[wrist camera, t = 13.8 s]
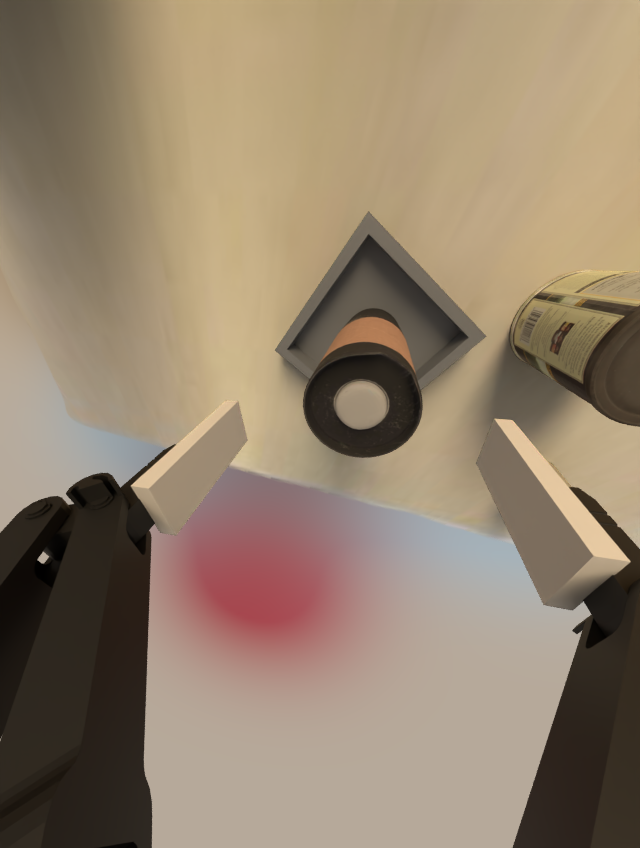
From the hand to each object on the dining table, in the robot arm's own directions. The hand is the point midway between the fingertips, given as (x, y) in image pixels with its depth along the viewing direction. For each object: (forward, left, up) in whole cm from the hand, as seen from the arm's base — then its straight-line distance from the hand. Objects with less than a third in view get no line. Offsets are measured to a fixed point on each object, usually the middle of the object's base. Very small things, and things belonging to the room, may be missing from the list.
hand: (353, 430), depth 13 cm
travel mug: (0, 0, -23) cm, 23 cm away
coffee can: (+15, +15, -24) cm, 32 cm away
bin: (0, 0, -24) cm, 24 cm away
